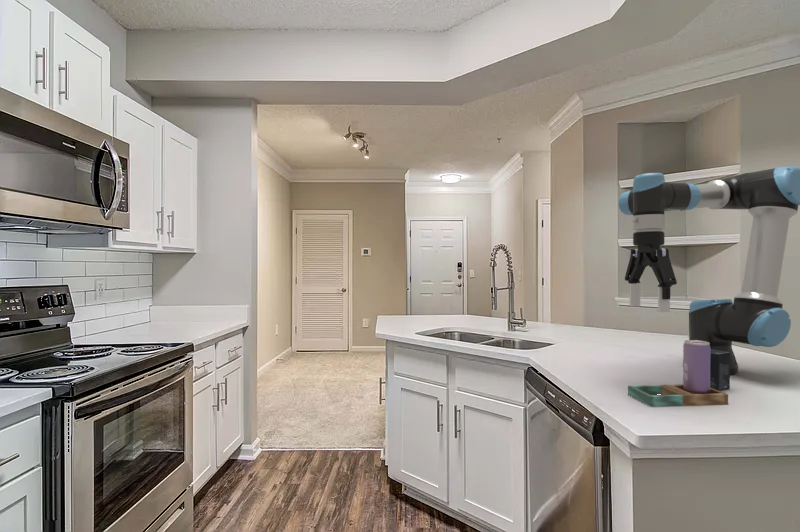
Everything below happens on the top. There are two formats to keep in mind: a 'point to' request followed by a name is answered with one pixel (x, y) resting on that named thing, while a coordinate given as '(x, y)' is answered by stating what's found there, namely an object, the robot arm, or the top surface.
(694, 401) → the holder board
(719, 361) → the box
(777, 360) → the top surface
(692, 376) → the beverage can
